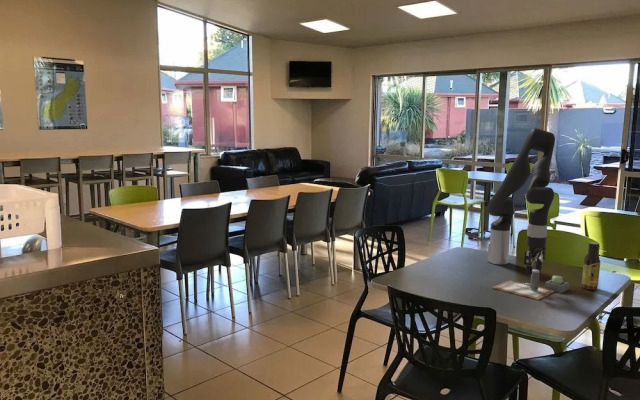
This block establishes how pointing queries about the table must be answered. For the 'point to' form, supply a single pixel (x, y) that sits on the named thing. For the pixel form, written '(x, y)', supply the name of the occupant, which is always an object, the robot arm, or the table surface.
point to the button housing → (557, 286)
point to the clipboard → (523, 290)
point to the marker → (534, 280)
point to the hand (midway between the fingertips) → (533, 272)
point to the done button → (557, 279)
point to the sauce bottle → (591, 267)
